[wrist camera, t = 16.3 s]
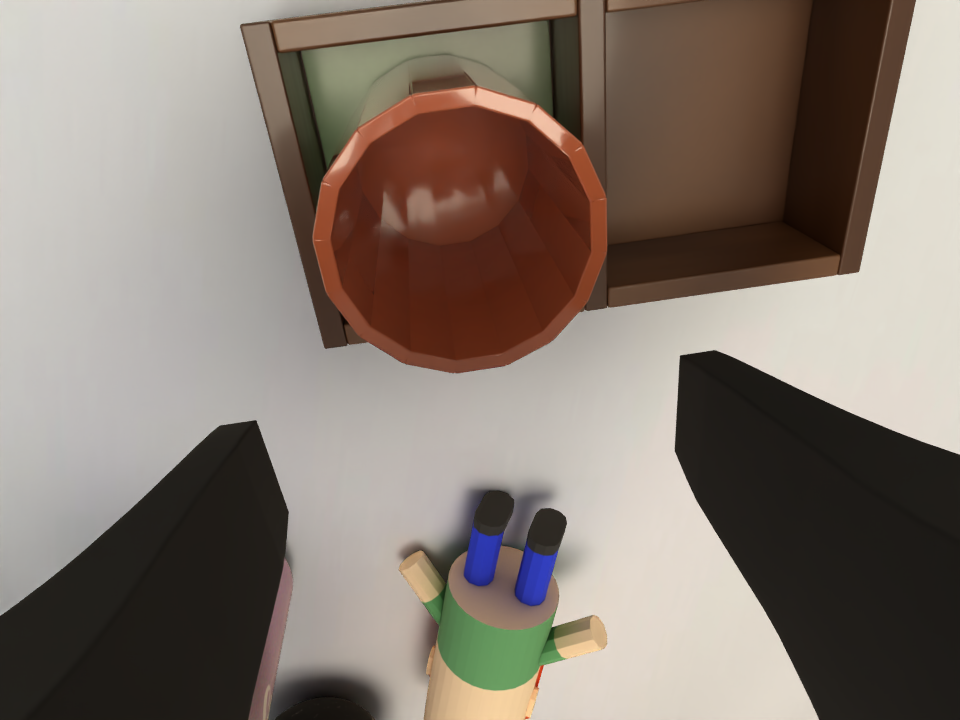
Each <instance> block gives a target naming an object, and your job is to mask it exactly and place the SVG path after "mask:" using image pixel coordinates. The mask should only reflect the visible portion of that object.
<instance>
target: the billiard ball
mask: <svg viewBox="0 0 960 720" xmlns="http://www.w3.org/2000/svg"><path fill="white" fill-rule="evenodd" d="M275 720H375V718H374V717H373V716H372V715H371V714H370V713H369V712H368V711H366V710H365V709H364V708H362V707H361V706H359V705H357V704H355V703H353V702H351V701H348V700H344V699H340V698H334V697H321V698H315V699H311V700H307V701H304V702H301V703H299V704H297V705H294V706H293V707H291V708H289V709H287V710H286V711H284V712H283V713H282V714H280V715H279V716H278V717H277V718H276V719H275Z"/></svg>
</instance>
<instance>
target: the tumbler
mask: <svg viewBox="0 0 960 720" xmlns="http://www.w3.org/2000/svg"><path fill="white" fill-rule="evenodd" d="M312 238H313V245H314V249H315V252H316V256H317V260H318V264H319V268H320V272H321V276H322V280H323V283H324V287H325V291H326V293H327V295H328V297H329V298H330V299H331V301H332V302H333V303H334V305H335V306H336V307H337V308H338V310H339V311H340V312H341V314H342V315H343V316H344V318H345V319H346V320H347V322H348V323H349V324H350V326H351V327H352V328H353V329H354V331H355V332H356V333H357V335H358V336H360V337H361V338H362V339H364V340H365V341H367V342H369V343H370V344H372V345H374V346H375V347H377V348H379V349H380V350H382V351H384V352H385V353H387V354H389V355H390V356H392V357H394V358H395V359H397V360H399V361H400V362H402V363H405V364H407V365H412V366H418V367H423V368H428V369H433V370H439V371H444V372H449V373H463V372H469V371H476V370H482V369H489V368H495V367H502V366H506V365H509V364H511V363H513V362H514V361H516V360H518V359H520V358H522V357H524V356H526V355H528V354H529V353H531V352H533V351H535V350H537V349H539V348H541V347H543V346H545V345H546V344H548V343H550V342H551V341H553V340H554V339H555V338H556V337H557V336H558V335H559V333H560V332H561V331H562V330H563V329H564V328H565V327H566V326H567V325H568V323H569V322H570V321H571V320H572V319H573V318H574V317H575V316H576V315H577V314H578V312H579V311H580V310H581V309H582V308H583V307H584V306H585V305H586V303H587V302H588V300H589V298H590V295H591V293H592V290H593V288H594V285H595V282H596V280H597V277H598V275H599V272H600V270H601V267H602V265H603V262H604V260H605V257H606V254H607V198H606V194H605V191H604V189H603V187H602V185H601V183H600V180H599V178H598V176H597V174H596V171H595V169H594V167H593V165H592V163H591V160H590V158H589V156H588V154H587V152H586V149H585V147H584V145H583V144H582V143H581V141H579V140H578V139H577V138H576V137H575V136H574V135H573V134H571V133H570V132H569V131H568V130H567V129H566V128H565V127H563V126H562V125H561V124H560V123H559V122H558V121H557V120H556V119H554V118H553V117H552V116H551V115H550V114H549V113H548V112H546V111H545V110H544V109H543V108H542V107H541V106H540V105H538V104H537V103H536V102H534V101H533V100H532V99H530V98H529V97H528V96H526V95H525V94H524V93H522V92H521V91H520V90H518V89H517V88H516V87H515V86H513V85H512V84H511V83H509V82H508V81H507V80H505V79H504V78H503V77H501V76H500V75H499V74H497V73H496V72H495V71H493V70H492V69H491V68H489V67H487V66H484V65H481V64H478V63H476V62H473V61H470V60H468V59H464V58H460V57H455V56H452V55H437V56H426V57H421V58H416V59H413V60H409V61H406V62H405V63H402V64H401V65H399V66H397V67H395V68H393V69H391V70H390V71H388V72H387V73H386V74H384V75H383V76H382V77H380V78H379V79H378V80H377V81H375V82H374V83H373V84H372V85H371V87H370V88H369V90H368V91H367V93H366V94H365V95H364V97H363V98H362V100H361V102H360V103H359V105H358V107H357V108H356V110H355V111H354V113H353V114H352V116H351V118H350V120H349V122H348V124H347V127H346V129H345V131H344V133H343V135H342V138H341V140H340V142H339V144H338V146H337V149H336V151H335V153H334V155H333V157H332V160H331V162H330V164H329V166H328V168H327V171H326V173H325V175H324V177H323V180H322V182H321V187H320V193H319V199H318V205H317V211H316V217H315V224H314V230H313V236H312Z"/></svg>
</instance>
